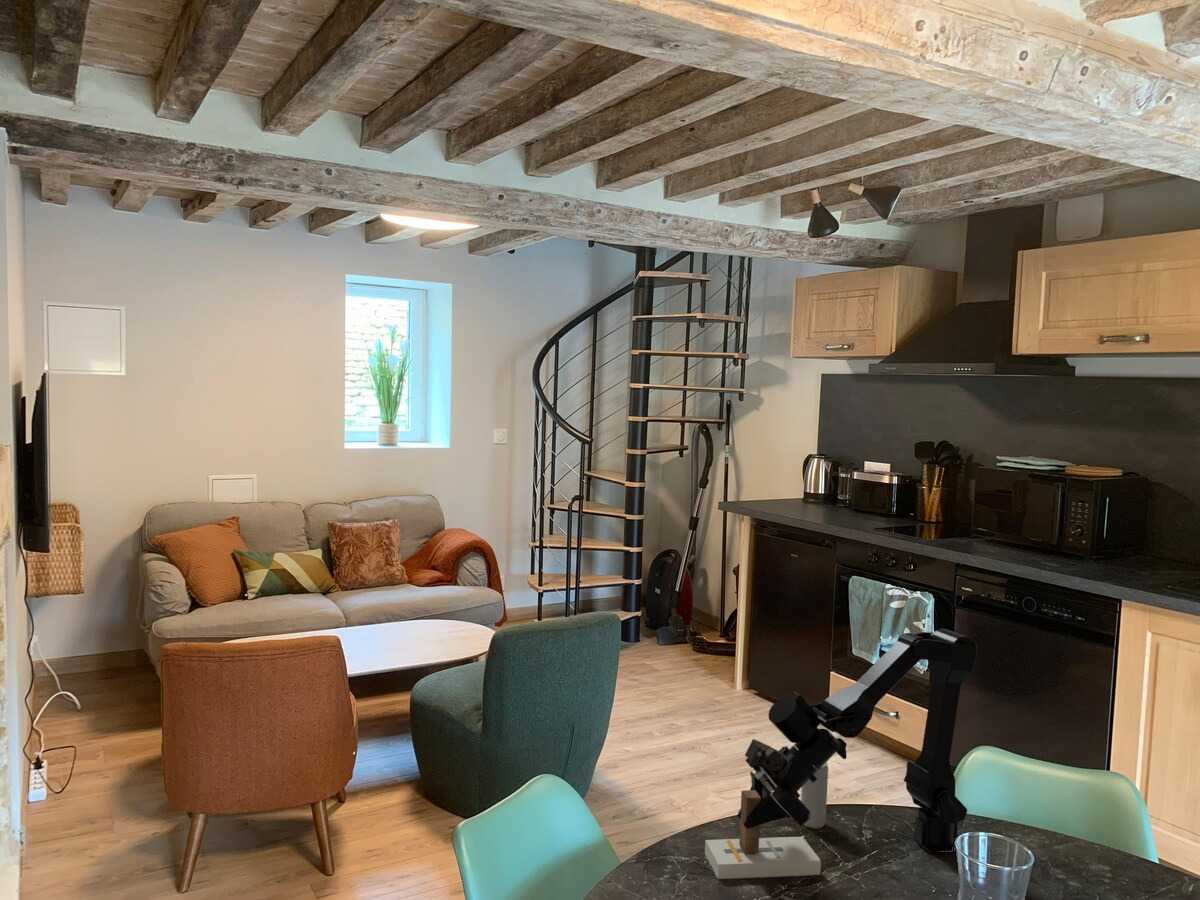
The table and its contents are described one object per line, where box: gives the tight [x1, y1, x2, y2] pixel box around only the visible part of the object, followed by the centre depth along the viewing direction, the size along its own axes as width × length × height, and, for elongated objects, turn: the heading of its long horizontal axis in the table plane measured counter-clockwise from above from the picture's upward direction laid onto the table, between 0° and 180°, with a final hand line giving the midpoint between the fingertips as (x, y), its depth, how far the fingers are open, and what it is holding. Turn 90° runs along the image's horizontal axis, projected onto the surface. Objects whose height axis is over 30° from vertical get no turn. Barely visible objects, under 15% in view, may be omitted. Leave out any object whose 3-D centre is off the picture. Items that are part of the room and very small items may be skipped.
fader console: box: [704, 836, 822, 880], centre depth 156 cm, size 18×9×3 cm, turn 98°
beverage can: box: [800, 761, 829, 830], centre depth 172 cm, size 5×5×12 cm
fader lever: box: [739, 789, 761, 853], centre depth 155 cm, size 2×3×10 cm
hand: (742, 822), depth 155 cm, fingers closed on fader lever, 3 cm apart
